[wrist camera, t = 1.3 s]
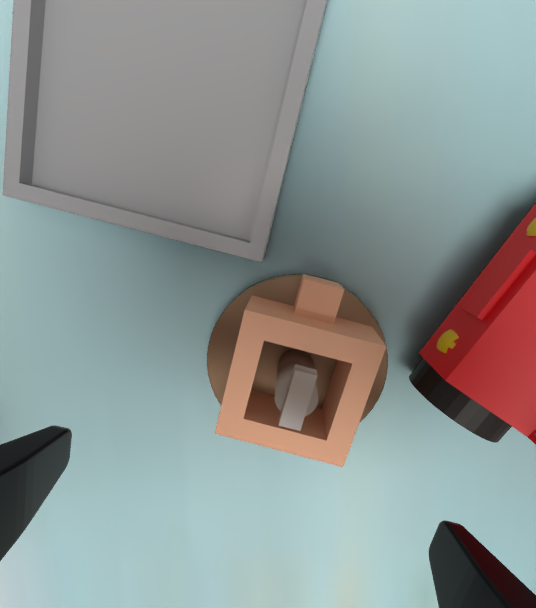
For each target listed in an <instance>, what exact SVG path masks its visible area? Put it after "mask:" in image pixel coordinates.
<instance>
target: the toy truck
mask: <svg viewBox="0 0 536 608" xmlns="http://www.w3.org/2000/svg"><path fill="white" fill-rule="evenodd" d="M419 354H420V355H421V356H422V357H423V359H422V360H421V361H420V363H419V364H418V365H417V367H416V368H415V369H414V371H413V372H412V373H411V375H410V376H409V379H410V381H411V383H412V384H413V385H414V387H415V388H416V389H417V390H418V391H419V392H420V393H421V394H422V395H423V396H424V397H425V398H426V399H427V400H428V401H429V402H431V403H432V404H433V405H434V406H435V407H437V408H438V409H439V410H440V411H442V412H443V413H444V414H446V415H447V416H448V417H450V418H451V419H452V420H454V421H455V422H457V423H458V424H460V425H461V426H463V427H464V428H466V429H467V430H469V431H471V432H472V433H474V434H476V435H478V436H480V437H482V438H484V439H486V440H488V441H491V442H498V441H499V440H500V439H501V438H502V437H503V436H504V434H505V433H506V432H507V431H508V430H509V429H510V428H511V426H512V427H514V428H515V429H517V430H518V431H520V432H521V433H523V434H524V435H525V436H527V437H528V438H529V439H530V440H532V441H533V442H534V443H535V444H536V203H535V204H534V206H533V207H532V208H531V209H530V211H529V212H528V213H527V215H526V216H525V217H524V218H523V220H522V221H521V222H520V224H519V225H518V226H517V227H516V229H515V230H514V231H513V233H512V234H511V235H510V236H509V238H508V239H507V240H506V242H505V243H504V244H503V245H502V247H501V248H500V249H499V251H498V252H497V253H496V254H495V256H494V257H493V258H492V260H491V261H490V262H489V263H488V265H487V266H486V267H485V268H484V270H483V271H482V272H481V274H480V275H479V276H478V277H477V279H476V280H475V281H474V283H473V284H472V285H471V286H470V288H469V289H468V290H467V292H466V293H465V294H464V295H463V297H462V298H461V299H460V301H459V302H458V303H457V304H456V306H455V307H454V308H453V310H452V311H451V312H450V313H449V315H448V316H447V317H446V319H445V320H444V321H443V322H442V324H441V325H440V326H439V328H438V329H437V330H436V331H435V333H434V334H433V335H432V337H431V338H430V339H429V340H428V342H427V343H426V344H425V346H424V347H423V348H422V349H421V351H420V352H419Z"/></svg>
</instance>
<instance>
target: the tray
mask: <svg viewBox="0 0 536 608" xmlns="http://www.w3.org/2000/svg"><path fill="white" fill-rule="evenodd" d="M327 2H328V0H14V3H13V21H12V39H11V57H10V75H9V93H8V111H7V129H6V147H5V165H4V183H3V195H4V196H8V197H12V198H16V199H20V200H23V201H27V202H31V203H35V204H39V205H43V206H47V207H50V208H54V209H58V210H62V211H66V212H70V213H73V214H77V215H81V216H85V217H89V218H93V219H97V220H100V221H104V222H108V223H112V224H116V225H120V226H123V227H127V228H131V229H135V230H139V231H143V232H147V233H150V234H154V235H158V236H162V237H166V238H170V239H173V240H177V241H181V242H185V243H189V244H193V245H197V246H200V247H204V248H208V249H212V250H216V251H220V252H223V253H227V254H231V255H235V256H239V257H243V258H247V259H250V260H254V261H258V262H262V261H263V260H264V257H265V253H266V249H267V245H268V241H269V237H270V233H271V229H272V224H273V220H274V216H275V212H276V208H277V204H278V200H279V196H280V192H281V188H282V184H283V180H284V176H285V172H286V168H287V164H288V160H289V156H290V152H291V148H292V144H293V140H294V136H295V132H296V128H297V124H298V120H299V115H300V111H301V107H302V103H303V99H304V95H305V91H306V87H307V83H308V79H309V75H310V71H311V67H312V63H313V59H314V55H315V51H316V47H317V43H318V39H319V35H320V31H321V27H322V23H323V19H324V15H325V10H326V6H327Z"/></svg>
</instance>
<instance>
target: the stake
mask: <svg viewBox="0 0 536 608" xmlns="http://www.w3.org/2000/svg"><path fill="white" fill-rule="evenodd" d="M310 276H311V275H310ZM314 277H316V276H314ZM318 278H321V277H318ZM301 279H302V275H301V274H292V275H282V276H277V277H272V278H269V279H266V280H263V281H261V282H259V283H257V284H255V285H253V286H251V287H249V288H248V289H246V290H245V291H243V292H242V293H241V294H240V295H238V296H237V297H236V298H235V299H234V300H233V301H232V302H231V303H230V304H229V306H228V307H227V308H226V309H225V311H224V312H223V313H222V315H221V317H220V318H219V320H218V321H217V323H216V325H215V327H214V330H213V332H212V334H211V338H210V341H209V346H208V352H207V368H208V375H209V379H210V383H211V386H212V389H213V391H214V393H215V396H216V398H217V399H218V401H219V403H220V404H221V405H222V401H223V397H224V393H225V389H226V385H227V380H228V376H229V372H230V368H231V364H232V360H233V356H234V352H235V347H236V343H237V339H238V335H239V331H240V327H241V323H242V319H243V314H244V310H245V308H246V306H247V304H248V302H249V300H250V298H251V296H252V295H253V296H257V297H261V298H265V299H269V300H272V301H276V302H280V303H284V304H288V305H292V306H294V304H295V300H296V297H297V293H298V289H299V286H300V282H301ZM321 279H324V278H321ZM325 280H327V279H325ZM329 281H330V280H329ZM343 288H344V287H343ZM336 317H338V318H342V319H345V320H349V321H353V322H357V323H361V324H365V325H368V326H372V327H373V328H374V330H375V331H376V333H377V334H378V335H379V337H380V338H381V340H382V341H383V342H384V344H385V345H386V343H385V340H384V337H383V334H382V331H381V329H380V327H379V325H378V323H377V321H376V320H375V318H374V317H373V315H372V314H371V312H370V311H369V310H368V309H367V308H366V306H365V305H364V304H363V303H362V302H361V301H360V300H359V299H358V298H357V297H356V296H355V295H354V294H352V293H351V292H350V291H348V290H347V289H345V288H344V293H343V296H342V299H341V302H340V305H339V309H338V312H337V315H336ZM336 363H337V359H333V358H329V357H325V356H321V355H318V354H314V353H310V352H306V351H302V350H298V349H295V348H291V347H287V346H283V345H279V344H275V343H272V342H268V341H264V343H263V346H262V350H261V354H260V358H259V362H258V365H257V369H256V373H255V377H254V381H253V384H252V388H251V390H253V391H257V392H261V393H265V394H269V395H273V396H275V403H276V406H277V408H278V409H279V410H280V411H281V414H280V417H279V426H283V427H286V428H290V429H294V430H298V431H300V430H301V427H302V424H303V421H304V418H305V416H307V415H309V414H311V413H312V412H313V411H314V410H315V408H316V407H318V408H322V406H323V403H324V400H325V397H326V394H327V391H328V388H329V385H330V382H331V378H332V375H333V372H334V369H335V366H336ZM387 368H388V355H387V349H385V352H384V355H383V358H382V360H381V363H380V366H379V369H378V371H377V374H376V377H375V380H374V383H373V385H372V388H371V391H370V394H369V397H368V399H367V402H366V405H365V408H364V410H363V413H362V416H361V419H360V422H361V421H362V420H363V419H364V418H365V417H366V416H367V415H368V413H369V412H370V411H371V410H372V409H373V407H374V405H375V404H376V402H377V401H378V399H379V397H380V395H381V392H382V390H383V387H384V384H385V380H386V375H387ZM360 422H359V423H360Z"/></svg>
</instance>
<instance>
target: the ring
mask: <svg viewBox="0 0 536 608" xmlns="http://www.w3.org/2000/svg"><path fill="white" fill-rule="evenodd" d="M343 293H344V288H343V287H342V285H341V284H340V283H337V282H333V281H329V280H325V279H321V278H318V277H314V276H310V275H306V274H303V275H302V279H301V282H300V286H299V289H298V293H297V297H296V300H295V304H294V306H292V305H288V304H284V303H280V302H276V301H272V300H269V299H265V298H261V297H257V296H253V295H252V296H251V298H250V300H249V302H248V304H247V306H246V308H245V310H244V314H243V319H242V323H241V327H240V331H239V335H238V339H237V343H236V347H235V352H234V356H233V360H232V364H231V368H230V372H229V376H228V380H227V385H226V389H225V393H224V397H223V401H222V405H221V409H220V413H219V418H218V422H217V426H216V430H215V434H219V435H223V436H227V437H230V438H234V439H238V440H242V441H246V442H250V443H253V444H257V445H261V446H265V447H269V448H272V449H276V450H280V451H284V452H288V453H291V454H295V455H299V456H303V457H307V458H310V459H314V460H318V461H322V462H326V463H329V464H333V465H337V466H341V467H343V466H344V463H345V461H346V458H347V455H348V452H349V449H350V447H351V444H352V441H353V438H354V435H355V433H356V430H357V427H358V424H359V422H360V419H361V416H362V413H363V410H364V408H365V405H366V402H367V399H368V397H369V394H370V391H371V388H372V385H373V383H374V380H375V377H376V374H377V371H378V369H379V366H380V363H381V360H382V358H383V355H384V352H385V349H386V345H385V344H384V342H383V341H382V340H381V338H380V337H379V335H378V334H377V333H376V331H375V330H374V328H373V327H372V326H368V325H365V324H361V323H357V322H353V321H349V320H345V319H342V318H338V317H336V315H337V312H338V309H339V305H340V302H341V299H342V296H343ZM264 341H268V342H272V343H275V344H279V345H283V346H287V347H291V348H295V349H298V350H302V351H306V352H310V353H314V354H318V355H321V356H325V357H329V358H333V359H337V363H336V366H335V369H334V372H333V375H332V378H331V382H330V385H329V388H328V391H327V394H326V397H325V400H324V403H323V406H322V408H318V407H316V408H315V410H314V411H313V412H312V413H311V414H309V415H307V416H305V418H304V421H303V424H302V427H301V430H300V431H298V430H294V429H290V428H286V427H283V426H279V417H280V414H281V411H280V410H279V409H278V408H277V406H276V403H275V396H273V395H269V394H265V393H261V392H257V391H253V390H251V388H252V384H253V381H254V377H255V373H256V369H257V365H258V362H259V358H260V354H261V350H262V346H263V343H264Z"/></svg>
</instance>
